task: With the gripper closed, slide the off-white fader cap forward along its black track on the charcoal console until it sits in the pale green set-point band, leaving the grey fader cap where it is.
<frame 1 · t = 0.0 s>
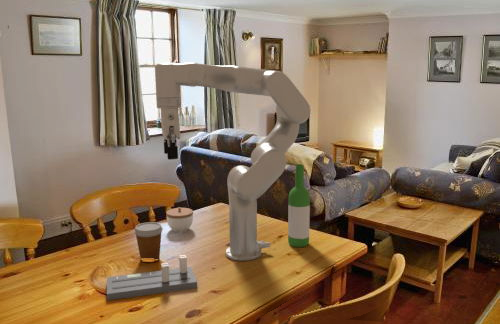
hand: (171, 156, 152), 37 cm above the table, tool pointing down, fingers open, 9 cm apart
wine bottle: (298, 244, 175), on the table
console: (151, 285, 144), on the table
fader a: (183, 263, 147), point 5 cm above the table, slide at 0.0 cm
fader b: (165, 272, 141), point 5 cm above the table, slide at 6.0 cm
disposable coffee cup: (150, 259, 163), on the table
lidded jar: (180, 230, 191), on the table
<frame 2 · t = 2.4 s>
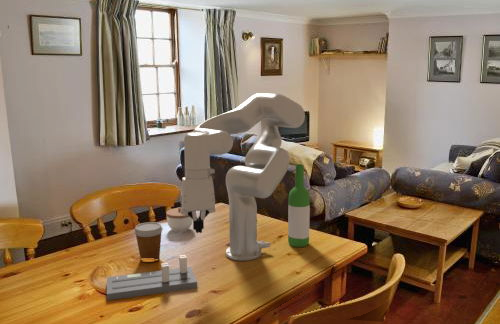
hand: (198, 231, 146), 15 cm above the table, tool pointing down, fingers closed
nothing on the table moved.
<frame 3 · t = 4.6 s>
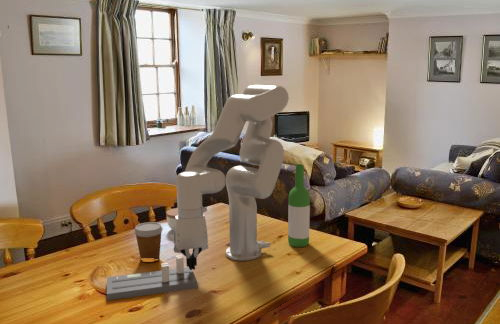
hand: (191, 268, 148), 3 cm above the table, tool pointing down, fingers closed
fader a: (179, 264, 147), point 5 cm above the table, slide at 1.0 cm, touching gripper
everything else where it was.
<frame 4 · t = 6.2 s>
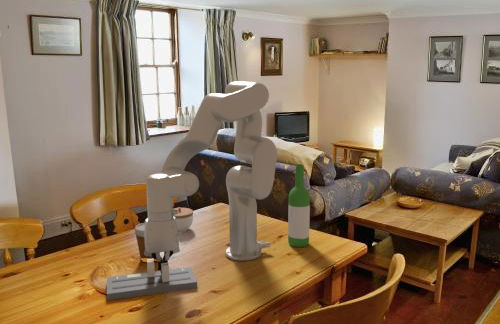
hand: (163, 271, 146), 3 cm above the table, tool pointing down, fingers closed
fader a: (150, 267, 145), point 5 cm above the table, slide at 9.9 cm, touching gripper
everything else where it was.
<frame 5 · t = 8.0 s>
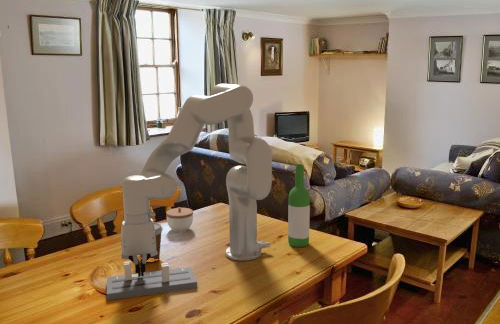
hand: (140, 274, 144), 3 cm above the table, tool pointing down, fingers closed
fader a: (128, 270, 143), point 5 cm above the table, slide at 16.7 cm, touching gripper
everything else where it was.
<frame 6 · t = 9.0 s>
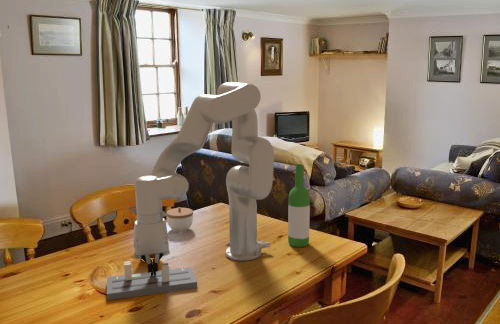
hand: (153, 273, 145), 3 cm above the table, tool pointing down, fingers closed
fader a: (127, 270, 143), point 5 cm above the table, slide at 16.7 cm
everything else where it was.
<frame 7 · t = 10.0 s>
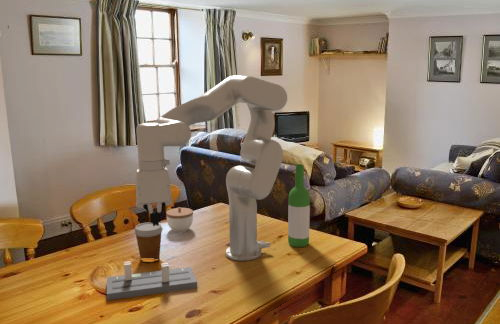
hand: (155, 224, 142), 19 cm above the table, tool pointing down, fingers closed
nothing on the table moved.
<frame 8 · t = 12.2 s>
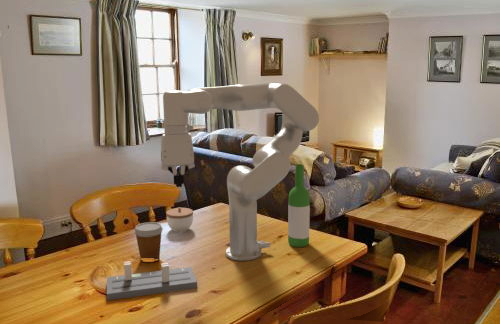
hand: (178, 186, 153), 27 cm above the table, tool pointing down, fingers closed
nothing on the table moved.
at the end: fader a slide at 16.7 cm; fader b slide at 6.0 cm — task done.
